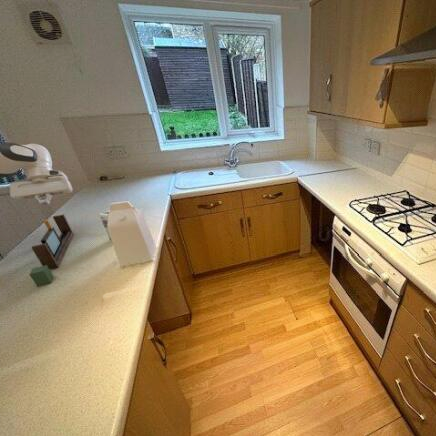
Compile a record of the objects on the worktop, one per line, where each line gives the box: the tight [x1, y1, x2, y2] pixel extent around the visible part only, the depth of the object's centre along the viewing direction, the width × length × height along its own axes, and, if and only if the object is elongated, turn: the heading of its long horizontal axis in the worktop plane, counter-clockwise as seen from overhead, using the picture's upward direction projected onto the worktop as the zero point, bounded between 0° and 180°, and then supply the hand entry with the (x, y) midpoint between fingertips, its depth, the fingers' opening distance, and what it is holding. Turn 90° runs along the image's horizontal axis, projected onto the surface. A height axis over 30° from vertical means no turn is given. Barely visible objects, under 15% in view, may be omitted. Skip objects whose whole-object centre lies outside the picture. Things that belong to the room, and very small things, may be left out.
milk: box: [107, 200, 157, 268], centre depth 100 cm, size 12×12×26 cm
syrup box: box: [99, 209, 112, 242], centre depth 116 cm, size 6×6×14 cm
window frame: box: [31, 213, 75, 271], centre depth 108 cm, size 31×4×12 cm, turn 30°
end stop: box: [28, 265, 55, 287], centre depth 91 cm, size 4×4×6 cm
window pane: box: [40, 219, 62, 257], centre depth 104 cm, size 13×1×13 cm, turn 30°
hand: (44, 204), depth 107 cm, fingers closed
